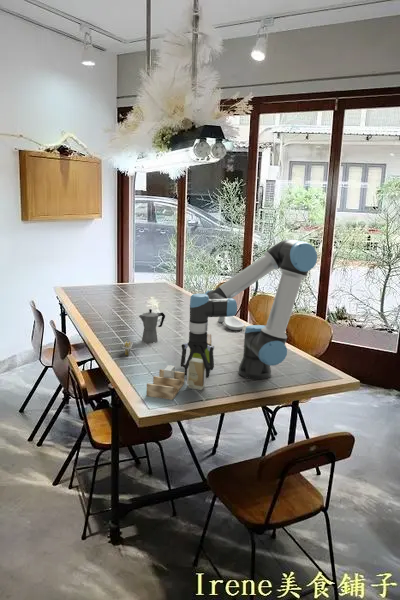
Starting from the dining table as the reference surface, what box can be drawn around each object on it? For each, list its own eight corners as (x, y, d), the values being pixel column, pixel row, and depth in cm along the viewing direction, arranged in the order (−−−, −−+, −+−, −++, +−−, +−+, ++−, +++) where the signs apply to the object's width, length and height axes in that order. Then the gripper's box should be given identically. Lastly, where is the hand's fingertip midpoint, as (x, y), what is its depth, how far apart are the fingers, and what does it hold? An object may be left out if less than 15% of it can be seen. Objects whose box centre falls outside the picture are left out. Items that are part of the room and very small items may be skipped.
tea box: (190, 361, 232) (191, 332, 229) (210, 362, 232) (212, 333, 229) (188, 372, 217) (190, 342, 214) (210, 373, 217) (212, 343, 214)
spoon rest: (247, 331, 290) (248, 320, 288) (231, 332, 284) (232, 321, 283) (228, 321, 310) (228, 310, 309) (212, 322, 305) (213, 312, 303)
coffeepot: (141, 344, 254) (142, 312, 250) (135, 339, 262) (136, 308, 258) (167, 341, 261) (168, 310, 257) (161, 336, 269) (161, 306, 265)
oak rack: (184, 385, 202) (184, 372, 201) (172, 402, 186) (173, 387, 184) (159, 382, 204) (160, 369, 203) (146, 398, 188) (146, 384, 187)
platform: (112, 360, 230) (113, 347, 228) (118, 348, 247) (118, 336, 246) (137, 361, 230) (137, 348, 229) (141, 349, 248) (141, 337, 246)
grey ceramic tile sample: (174, 383, 201) (174, 365, 200) (170, 388, 196) (170, 370, 194) (167, 382, 202) (168, 365, 200) (163, 387, 196) (163, 369, 194)
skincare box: (187, 388, 198) (188, 360, 195) (191, 384, 202) (191, 357, 199) (202, 390, 196) (202, 362, 193) (205, 386, 200) (206, 359, 197)
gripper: (223, 331, 195) (220, 382, 200) (178, 326, 199) (176, 377, 204) (219, 336, 188) (217, 389, 193) (173, 331, 192) (172, 384, 197)
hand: (196, 383), depth 198 cm, fingers closed on skincare box, 6 cm apart
